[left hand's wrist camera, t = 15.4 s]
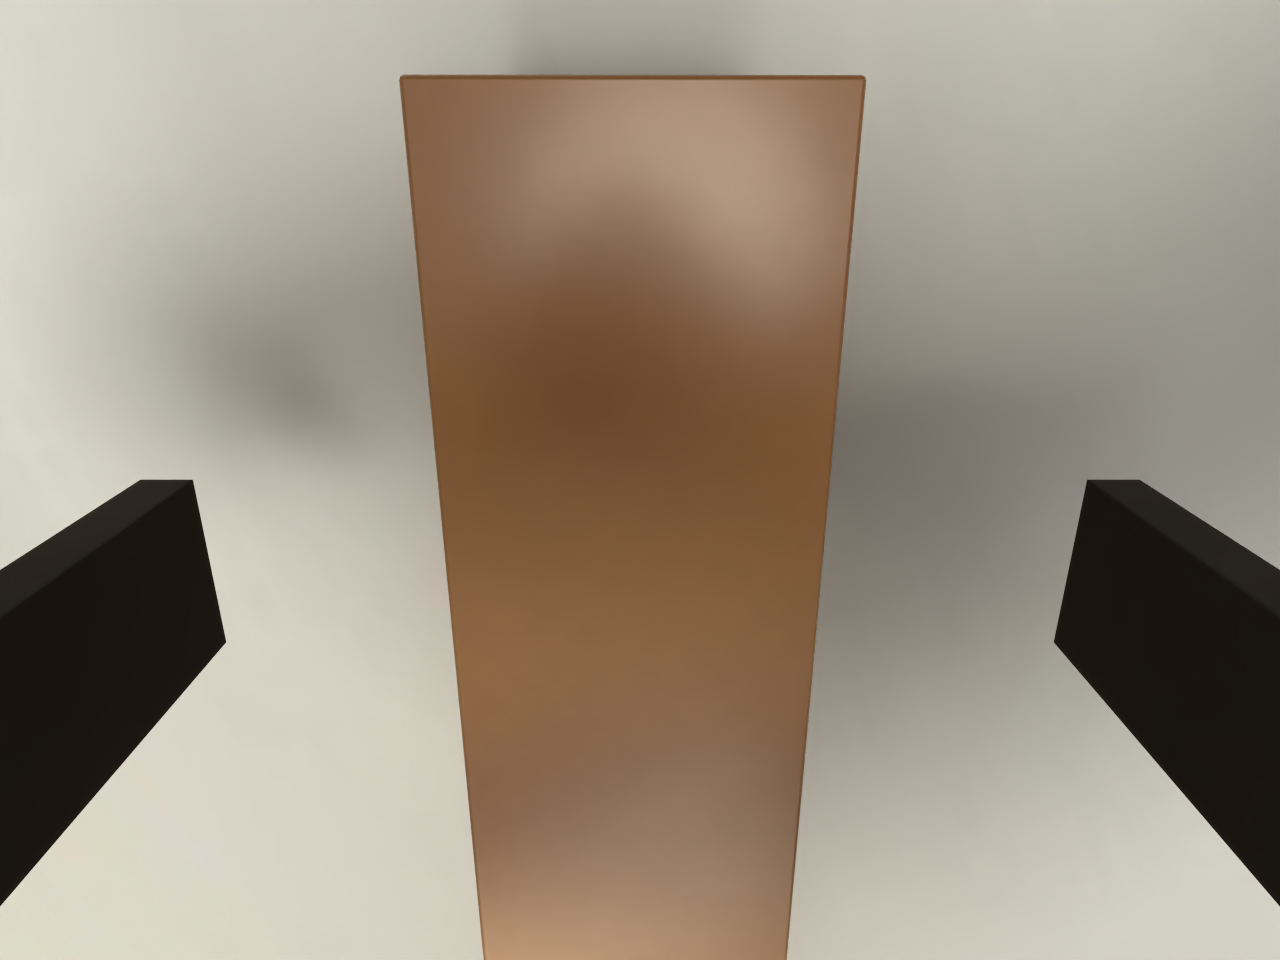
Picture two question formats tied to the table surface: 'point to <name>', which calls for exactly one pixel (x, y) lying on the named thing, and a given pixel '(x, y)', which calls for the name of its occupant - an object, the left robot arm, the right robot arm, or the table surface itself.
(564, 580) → the bar
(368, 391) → the table surface
